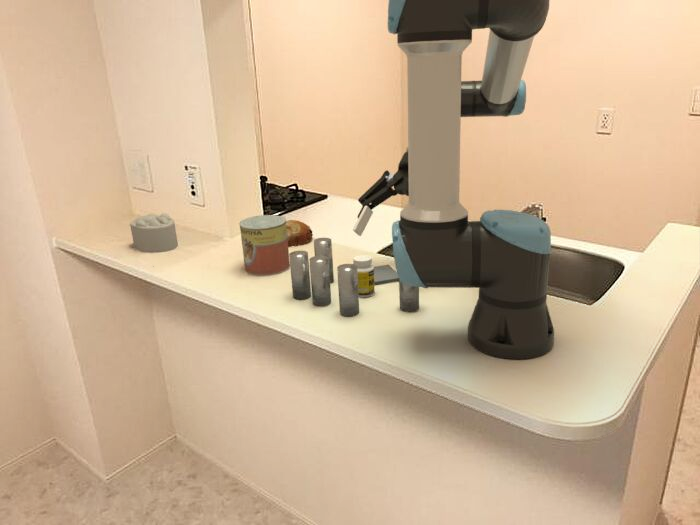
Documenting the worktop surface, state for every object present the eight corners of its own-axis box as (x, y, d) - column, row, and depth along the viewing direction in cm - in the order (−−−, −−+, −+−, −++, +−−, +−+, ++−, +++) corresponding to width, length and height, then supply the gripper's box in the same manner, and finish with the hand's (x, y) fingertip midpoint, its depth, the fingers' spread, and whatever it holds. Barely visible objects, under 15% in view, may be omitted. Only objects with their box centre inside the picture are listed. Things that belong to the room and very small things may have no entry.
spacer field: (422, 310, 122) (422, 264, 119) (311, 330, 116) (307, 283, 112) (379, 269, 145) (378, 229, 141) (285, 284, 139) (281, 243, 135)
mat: (402, 280, 137) (402, 277, 137) (365, 286, 135) (365, 283, 135) (388, 267, 145) (388, 264, 145) (353, 273, 143) (353, 270, 143)
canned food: (236, 268, 150) (230, 222, 146) (273, 256, 157) (269, 212, 153) (260, 279, 142) (255, 231, 138) (299, 267, 149) (295, 220, 144)
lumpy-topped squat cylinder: (161, 237, 177) (156, 209, 174) (187, 245, 169) (182, 215, 166) (129, 247, 170) (123, 217, 167) (154, 256, 162) (149, 225, 159)
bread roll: (284, 248, 174) (269, 225, 171) (315, 231, 173) (301, 208, 170) (284, 260, 164) (269, 236, 161) (317, 242, 164) (302, 218, 161)
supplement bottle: (372, 298, 129) (371, 262, 126) (351, 297, 130) (349, 261, 127) (376, 289, 133) (375, 254, 130) (355, 289, 134) (353, 253, 131)
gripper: (472, 174, 132) (432, 257, 127) (385, 162, 148) (347, 236, 143) (459, 154, 126) (417, 240, 122) (370, 144, 143) (330, 220, 138)
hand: (379, 238), depth 132 cm, fingers open, 13 cm apart
